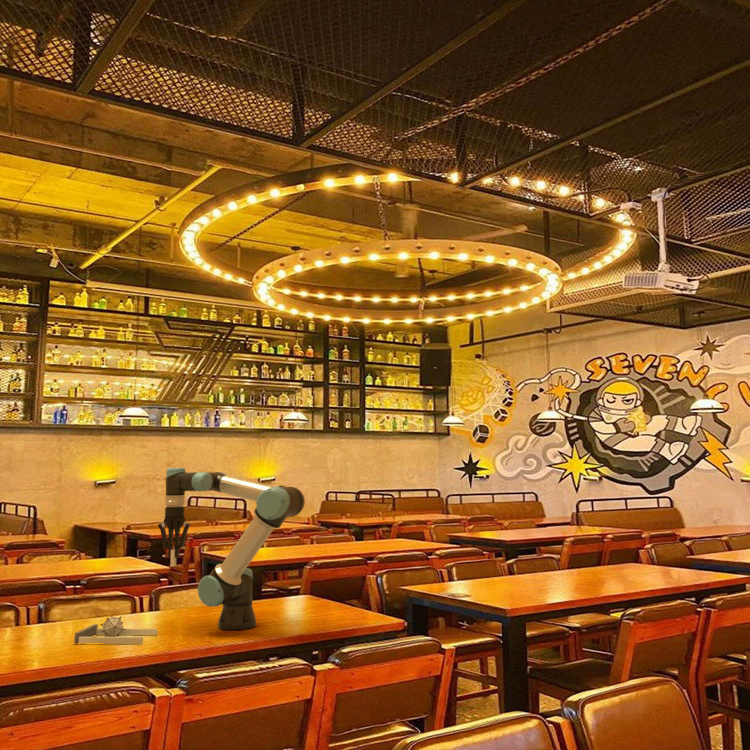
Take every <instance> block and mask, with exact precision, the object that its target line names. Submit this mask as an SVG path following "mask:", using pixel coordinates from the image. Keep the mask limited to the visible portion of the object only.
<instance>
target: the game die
mask: <svg viewBox="0 0 750 750" xmlns="http://www.w3.org/2000/svg"><path fill="white" fill-rule="evenodd" d="M123 623H124V622H123V621H122V616H119V617H116V616H113V614H111V615H110V617H106V621H104V622H103V623H100V624H99V625H100V626H102V628H103V630H104V631H102V632H104V634H105V636H103V637H118V636H119V635H118V634H119V633H120V632H122V631H123V630H125V629H123V628H124V625H123ZM119 637H120V636H119Z"/></svg>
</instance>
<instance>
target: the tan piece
mask: <svg viewBox="0 0 750 750" xmlns="http://www.w3.org/2000/svg"><path fill="white" fill-rule="evenodd" d="M98 627H99V625H98V624H97V623H95V624H92V625H89V626H88V627H85V628H83V629H81V630H79V631H76V632H75V633H74V637H73V644H74V643H104V644H142V643H143V644H144V636H119V637H118V636H115V637H107V636H106V637H104V636H94V635H105V634H104V632H102V631H104V630H103V627H102V628H98ZM123 629H125V630H123V631H122V632H120V633H119V634H118V635H157V636H158V628H156V627H155V628H154V627H153V628H152V627H151V628H146V627H145V628H143V627H142V628H141V627H139V628H138V627H137V628H135V627H134V628H132V627H131V628H127V627H126V628H124V627H123ZM92 636H93V637H92ZM143 644H142V645H143Z"/></svg>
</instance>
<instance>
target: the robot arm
mask: <svg viewBox="0 0 750 750" xmlns="http://www.w3.org/2000/svg"><path fill="white" fill-rule="evenodd" d="M165 475H166V476H165V506H166V507H164V518H163V521H162V522H161V523H158V524H157V527H158V528H159V530H160V534H161V540H162V544H163V548H165V549H167V550H168V553H167V554H168V556H167V557H168V558H170V565H169V566H170V567H176V566H177V559H178V558H179V557H180V549H182V548H184V547H185V543H186V539H187V536H188V535H187V534H188V531H189V529H190V527H191V525H192V524H191V523H190V522H187V520H186V519H185V503H186V501H185V500H186V499H185V498H186V497H185V495H186V492H199V493H200V492H208V491H209V492H216V493H222V494H226V495H230V496H234V497H237V498H242V499H245V500H249V501H253V502H256V503H255V504H256V506H255V509H254V511H253V513H254V517H253V518H252V520H251V521H250V523H249V525H248V526H247V527H246V529H245V530H244V531H243V533H242V534H241V535H240V538H239V539H238V540H237V542H236V543H235V545H234V546H233V547H232V548H231V551H230V552H229V553H228V554H227V557H226V558H224V560H223V562H222V563H218V564H216V566H215V567H214V568H213V569H212V570H211V572H210V574H209V575H204V576H203V577H202V578H201V579H200V580H199V582H198V584H197V593H198V594H197V595H198V598H199V600H200V602H202V604H204V605H206V606H207V607H218V606H221V605H222V607H221V612H220V615H219V618H218V621H217V628H218V629H219V628H220V630H223V629H226V631H237V630H236V629H244V630H248V629H247V628H250V629H253V628H252V627H254V628H255V626H257V619H256V615H255V611H254V607H253V581H254V575H253V570H252V569H251V568H247V567H249V565H250V564H251V562H252V561H253V559H254V558H255V556H256V555H257V554H258V552H259V551H260V550H261V548H262V546H263V544H265V542H266V540H267V539H268V538H269V537H270V535H271V533H272V532H273V531H274V530H276V529H280V527H281V526H282V525H283V523H284V522H285V521H286V519H288V518H292V517H295V516H297V515H299V514H300V513H301V512H302V511H303V510H304V508H305V504H306V503H305V502H306V501H305V496H304V494H303V492H302V491H301V490H300V489H298V488H297V487H294V486H285V485H278V486H274V485H270V484H266V483H261V482H258V481H253V480H249V479H244V478H241V477H237V476H232V475H228V474H226V473H224V472H221V471H220V472H219V471H215V472H214V471H213V472H210V471H209V472H208V471H207V472H204V471H195V472H194V471H193V472H186V468H185V467H168V468H167V469H166V473H165ZM182 527H183V530H182V533H181V528H182ZM166 528H167V529H168V530H167V532H168V535H167V532H166ZM180 533H181V535H180ZM180 536H181V537H180Z"/></svg>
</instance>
